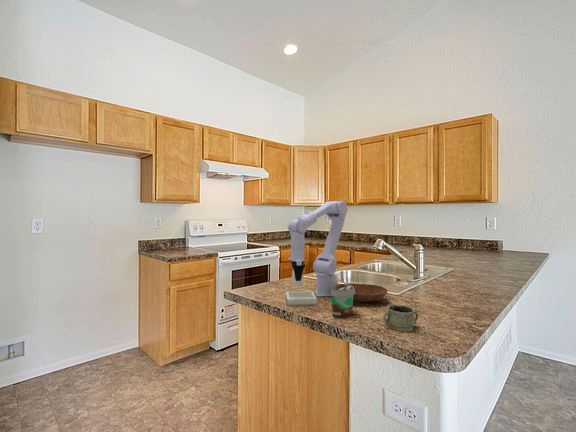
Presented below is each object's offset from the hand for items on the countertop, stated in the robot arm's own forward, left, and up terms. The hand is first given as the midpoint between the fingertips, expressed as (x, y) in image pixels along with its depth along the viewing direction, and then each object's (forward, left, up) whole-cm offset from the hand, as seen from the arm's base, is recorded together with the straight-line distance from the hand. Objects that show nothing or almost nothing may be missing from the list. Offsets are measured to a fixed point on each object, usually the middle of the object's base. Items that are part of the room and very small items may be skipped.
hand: (297, 279), depth 129 cm
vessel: (-31, +31, -10) cm, 45 cm away
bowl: (-27, 0, -10) cm, 29 cm away
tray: (-1, 0, -9) cm, 9 cm away
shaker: (0, 0, -2) cm, 2 cm away
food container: (-16, +18, -9) cm, 26 cm away
